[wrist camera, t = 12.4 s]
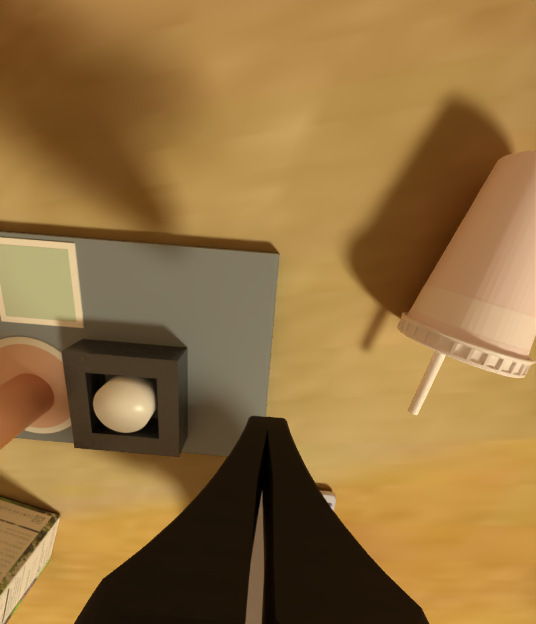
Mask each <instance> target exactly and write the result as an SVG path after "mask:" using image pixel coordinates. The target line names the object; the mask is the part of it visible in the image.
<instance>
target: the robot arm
mask: <svg viewBox="0 0 536 624" xmlns="http://www.w3.org/2000/svg"><path fill="white" fill-rule="evenodd" d="M335 501H336V498H335V494H334V493H333V492H330V491H321V490H319V489H318V487H317V485H316V484H315V482H314V480H313V478H312V477H311V475H310V473H309V471H308V470H307V468H306V466H305V464H304V462H303V460H302V458H301V456H300V454H299V452H298V450H297V448H296V445H295V443H294V441H293V438H292V436H291V433H290V430H289V427H288V424H287V421H286V420H285V419H284V418H274V417H262V416H251V417H249V418H248V421H247V424H246V426H245V428H244V430H243V432H242V434H241V436H240V438H239V440H238V441H237V443H236V445H235V446H234V448H233V450H232V451H231V453H230V454H229V456H228V457H227V459H226V460H225V462H224V463H223V464H222V466H221V467H220V469H219V470H218V471H217V473H216V474H215V475H214V477H213V478H212V479H211V480H210V482H209V483H208V484H207V485H206V486H205V488H204V489H203V490H202V491H201V492H200V493H199V495H198V496H197V497H196V498H195V499H194V500H193V501H192V502H191V503H190V504H189V505H188V506H187V507H186V508H185V510H184V511H183V512H182V513H181V514H180V515H179V516H178V517H177V518H176V519H174V520H173V521H172V522H171V523H170V524H169V525H168V526H167V527H166V528H165V529H164V530H162V531H161V532H160V533H159V534H158V535H157V536H156V537H155V538H154V539H152V540H151V541H150V542H149V543H148V544H147V545H146V546H144V547H143V548H142V549H141V550H140V551H138V552H137V553H136V554H134V555H133V556H132V557H131V558H129V559H128V560H127V561H125V562H124V563H123V564H122V565H120V566H119V567H118V568H117V569H115V570H114V571H113V572H111V573H110V574H109V575H107V576H106V577H105V578H103V579H102V581H101V582H100V584H99V585H98V587H97V588H96V590H95V591H94V593H93V594H92V596H91V597H90V599H89V600H88V602H87V603H86V605H85V607H84V608H83V610H82V612H81V613H80V615H79V616H78V618H77V620H76V621H75V623H74V624H429V622H428V620H427V618H426V616H425V614H424V612H423V610H422V608H421V607H420V606H419V605H418V604H417V603H416V602H415V601H414V600H412V599H411V598H410V597H409V596H408V595H407V594H406V593H405V592H404V591H403V590H402V589H401V588H400V587H399V586H398V585H397V584H396V583H395V582H394V581H393V580H392V579H391V578H390V577H389V576H388V575H387V574H386V573H385V572H384V571H383V570H382V569H381V568H380V567H379V566H378V565H377V563H376V562H375V561H374V560H373V559H372V558H371V557H370V556H369V555H368V554H367V552H366V551H365V550H364V549H363V548H362V546H361V545H360V544H359V543H358V542H357V540H356V539H355V538H354V537H353V535H352V534H351V533H350V532H349V531H348V529H347V528H346V527H345V526H344V524H343V523H342V522H341V520H340V519H339V518H338V516H337V515H336V514H335V512H334V507H335Z"/></svg>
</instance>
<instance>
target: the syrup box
mask: <svg viewBox="0 0 536 624" xmlns="http://www.w3.org/2000/svg"><path fill="white" fill-rule="evenodd" d="M59 520H60V515H57V514H54V513H51V512H48V511H44V510H41V509H38V508H35V507H32V506H28V505H26V504H22V503H19V502H16V501H12V500H9V499H6V498H3V497H0V624H6V623H7V622H8V620H9V619H10V617H11V616H12V614H13V613H14V611H15V610H16V609H17V607H18V606H19V604H20V603H21V601H22V600H23V599H24V597H25V596H26V594H27V593H28V591H29V590H30V588H31V587H32V585H33V584H34V583H35V581H36V580H37V578H38V577H39V575H40V574H41V572H42V571H43V569H44V568H45V567H46V565H47V564H48V562H49V560H50V557H51V553H52V549H53V545H54V541H55V537H56V533H57V528H58V524H59Z"/></svg>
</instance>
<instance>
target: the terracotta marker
mask: <svg viewBox="0 0 536 624" xmlns="http://www.w3.org/2000/svg"><path fill="white" fill-rule="evenodd" d="M53 404H54V393H53V391H52V389H51V387H50V386H49V384H48V383H47V382H46V381H44V380H43V379H42V378H40V377H38V376H36V375H32V374H20V375H17V376H15V377H14V378H12V379H10V380H8V381H7V382H5V383H3V384H2V385H0V449H1V448H3V447H4V446H5V445H6V444H8V443H9V442H10V441H11V440H12V439H14V438H15V437H16V436H17V435H19V434H20V433H21V432H22V431H24V430H25V429H26V428H27V427H29V426H30V425H31V424H32V423H33V422H35V421H36V420H37V419H38V418H40V417H41V416H42V415H43V414H45V413H46V412H47V411H48V410H50V409H51V407H52V406H53Z"/></svg>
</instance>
